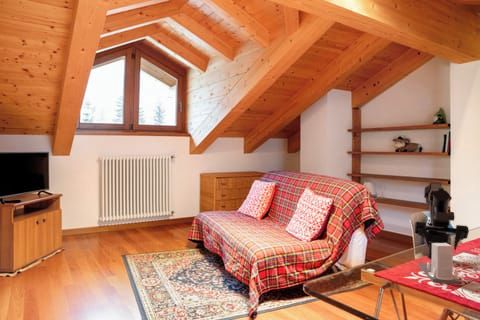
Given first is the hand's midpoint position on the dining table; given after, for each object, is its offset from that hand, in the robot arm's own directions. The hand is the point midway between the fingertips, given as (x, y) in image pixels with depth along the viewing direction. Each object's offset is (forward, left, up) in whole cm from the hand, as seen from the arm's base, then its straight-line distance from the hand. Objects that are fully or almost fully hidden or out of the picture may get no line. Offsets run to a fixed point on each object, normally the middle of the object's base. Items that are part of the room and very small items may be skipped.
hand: (441, 248), depth 134 cm
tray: (-1, -1, -11) cm, 11 cm away
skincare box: (+3, -1, -10) cm, 10 cm away
